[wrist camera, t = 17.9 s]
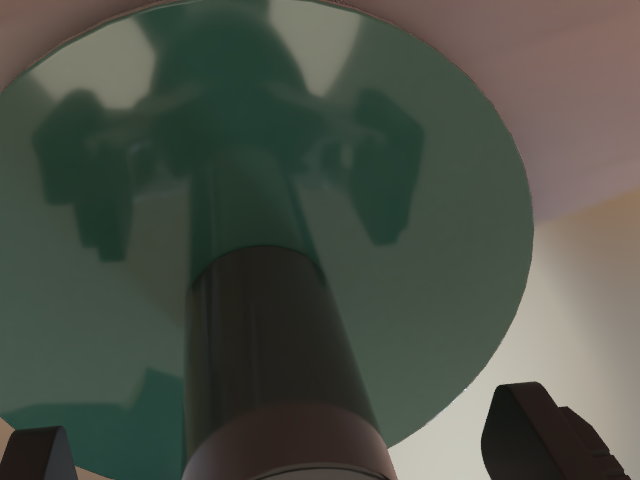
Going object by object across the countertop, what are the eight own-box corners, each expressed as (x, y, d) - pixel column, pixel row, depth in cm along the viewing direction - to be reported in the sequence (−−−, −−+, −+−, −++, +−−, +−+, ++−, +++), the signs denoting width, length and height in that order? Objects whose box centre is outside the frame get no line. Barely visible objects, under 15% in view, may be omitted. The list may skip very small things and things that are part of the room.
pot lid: (-130, 390, 14) (-359, 742, 8) (96, -192, 9) (-73, -335, 3) (330, 501, 20) (386, 753, 14) (617, 179, 15) (887, 362, 9)
